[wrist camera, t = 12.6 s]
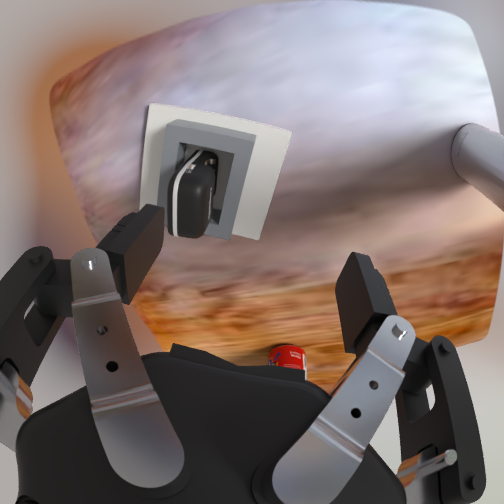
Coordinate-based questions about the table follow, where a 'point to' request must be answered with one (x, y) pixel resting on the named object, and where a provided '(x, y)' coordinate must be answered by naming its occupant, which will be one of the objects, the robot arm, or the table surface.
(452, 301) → the table surface
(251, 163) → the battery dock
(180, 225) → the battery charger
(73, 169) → the table surface
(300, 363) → the soda can
